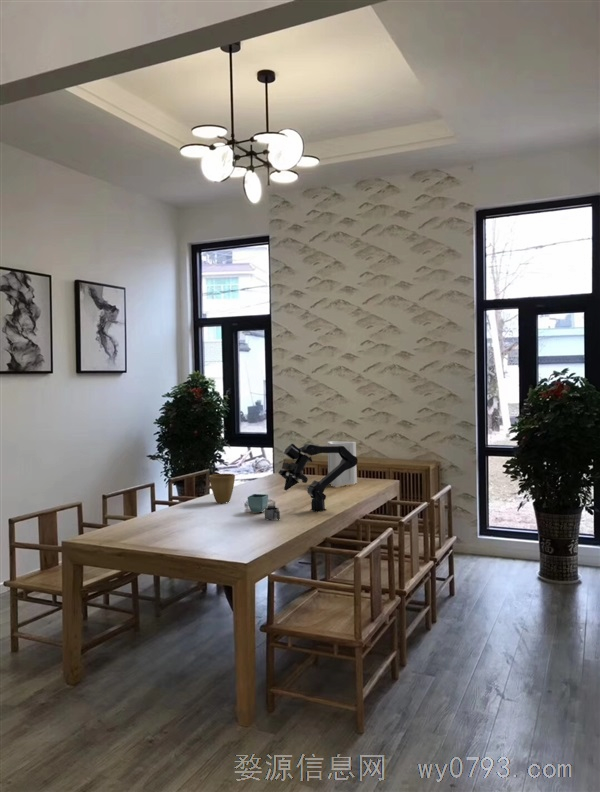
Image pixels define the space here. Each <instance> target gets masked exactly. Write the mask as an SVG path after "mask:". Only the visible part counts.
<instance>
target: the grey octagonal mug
mask: <svg viewBox="0 0 600 792" xmlns="http://www.w3.org/2000/svg"><path fill="white" fill-rule="evenodd" d="M280 512H281V511H279V507H276V508H274V509H272V510H271V509H268V507H266V508H265V511H264V520H266V519H278V520H277V521H280V520H281V513H280ZM279 519H280V520H279Z"/></svg>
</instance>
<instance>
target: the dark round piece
mask: <svg viewBox="0 0 600 792" xmlns="http://www.w3.org/2000/svg"><path fill="white" fill-rule="evenodd" d="M267 508H268V509H271V510H272V509H274V508H277V507H276V505H273V504H271V505H267Z"/></svg>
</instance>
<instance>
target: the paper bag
mask: <svg viewBox="0 0 600 792" xmlns="http://www.w3.org/2000/svg"><path fill="white" fill-rule="evenodd" d="M356 443H357V442H356V441H337V440H336V441H335V440H334V441H332V440H331V441H327V445H326V446H339V445H340V446H344V447H345V448H346V449H347V450H348V451H349V452H350V453H351V454H352V455H353V456H356V457H357V444H356ZM341 460H342V458H341V456H340V455H339V453H327V470H328V471H327V472H328V473H327V474H329V473H330V472H331V471H332V470H333V469H335V468H336V467H337V466H338V465H339V464H340V462H341ZM357 469H358V468H357V465H355V466H354V467H352V468H350V469H348V470H345V471H344V472H343V473H342V474H341V475H339V476H338V477H337V478H336V479H335V480H334V481H332V482H331V483H330V484H331V485H332V486H339V485H347V484H355V483H357V484H358V479H357V478H358V476H357V475H358V474H357V473H358V472H357V471H358V470H357Z"/></svg>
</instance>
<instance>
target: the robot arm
mask: <svg viewBox="0 0 600 792" xmlns="http://www.w3.org/2000/svg"><path fill="white" fill-rule="evenodd" d="M328 453H339V455H340V456H341V458H342V460H341V462H340V464H339V465H338V466H337V467H336V468H335V469H333V470H332V471H331V472H330V473H329V474H328V473H327V474H326V475H324V477H322V479H320V480H313V481H312V483H310V484H309V485H308V487H307V490H306V491H307V494H308V495H309V497H310V498H311V502H310V503H311V507H310V511H311V510H313V511H312V512H316V511H317V513H318V511H320V512H323V510H325V511H327V508H326V505H325V500H326V498H327V495H326V494H325V493H324V492H325V489H326V487H328V486H330V485H329V484H330V483H331V482H332V481H334V480H335V479H336V478H337V477H338V476H339V475H341V474H342V473H343V472H344V471H345V470H348V469H350V468H352V467H354V466H355V465H356V466H357V465H358V458H357V455H356V456H353V455H352V454H351V453H350V452H349V451H348V450H347V449H346V448H345V447H344V446H340V445H339V446H328V445H318V444H317V445H316V444H311V443H305V444H303V446H301V447H298V446H296V445H295V444H294V443H291V444H289V445H288V446H287V447H286V448H285V450H284V455H286V456H287V457H289V458H290V459H291V460H295V461H294V462H289V463H287V462H282V465H281V469H280V470H279V471H278V475H280V476H281V477H282V478H283V479H285V483H284V489H283V490H284V491H288V490H289V489H291V488H292V487H294V486H296V485H297V484H299V483H300V482H299V481H300V480H301V482H302V483H303V484H307V482H308V481H309V479H308V477H307V476H306V475H305V474H304V473H302V472H305V470H306V469H305V467H306V466H307V463H313V458H312V456H315V455H320V454H328Z"/></svg>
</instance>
